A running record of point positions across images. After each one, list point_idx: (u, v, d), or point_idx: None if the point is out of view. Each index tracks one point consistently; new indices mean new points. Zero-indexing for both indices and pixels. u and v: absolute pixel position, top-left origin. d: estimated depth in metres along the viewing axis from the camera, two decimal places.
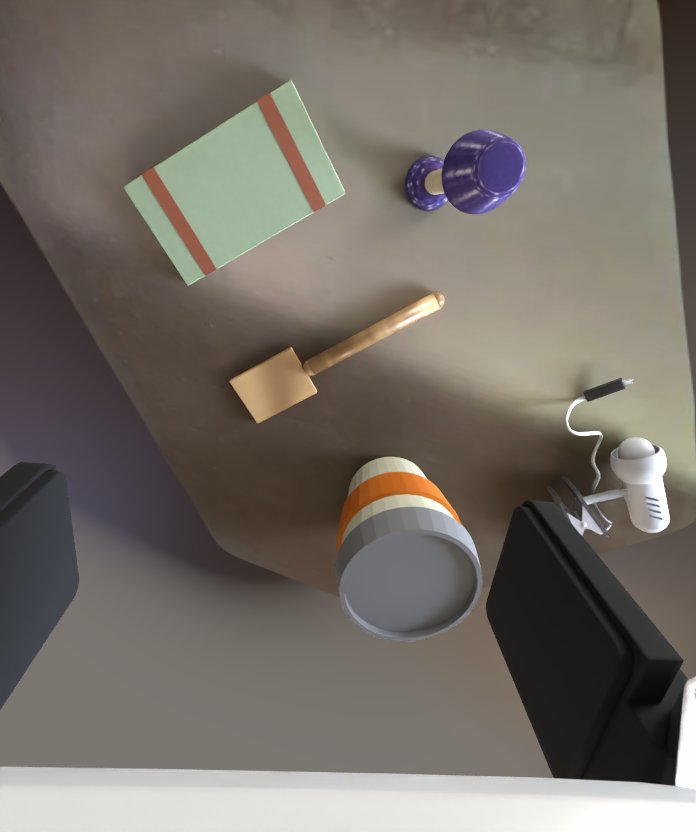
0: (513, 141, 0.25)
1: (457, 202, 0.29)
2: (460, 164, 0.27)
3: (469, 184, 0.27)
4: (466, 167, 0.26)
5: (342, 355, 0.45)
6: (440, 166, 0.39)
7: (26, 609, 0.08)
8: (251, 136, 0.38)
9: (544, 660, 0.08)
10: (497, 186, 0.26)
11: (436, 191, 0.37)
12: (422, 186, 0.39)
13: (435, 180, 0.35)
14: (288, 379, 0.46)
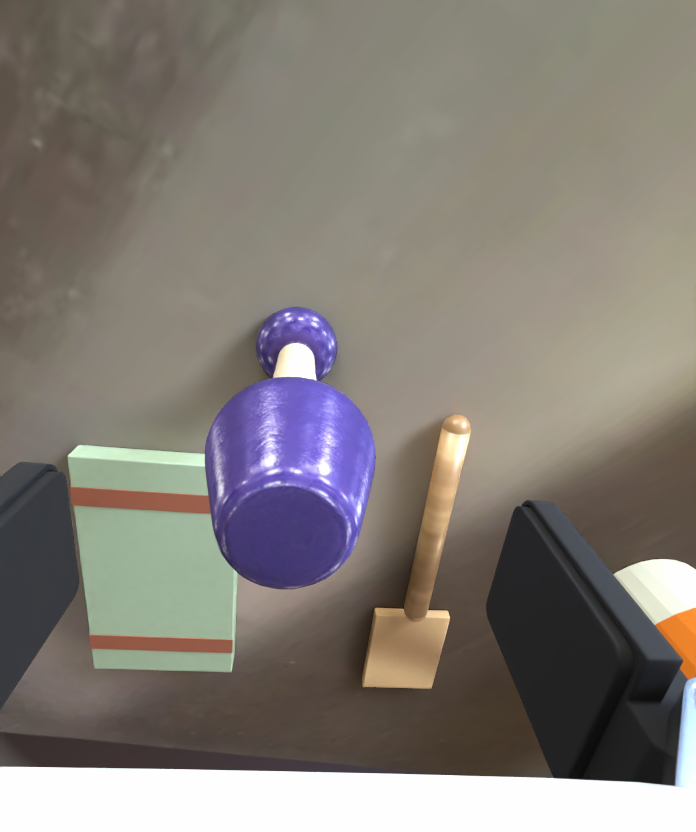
0: (246, 484, 0.09)
1: None
2: None
3: None
4: None
5: (430, 578, 0.30)
6: (280, 332, 0.23)
7: (26, 609, 0.08)
8: (109, 531, 0.27)
9: (544, 660, 0.08)
10: (321, 561, 0.10)
11: None
12: None
13: None
14: (408, 636, 0.33)
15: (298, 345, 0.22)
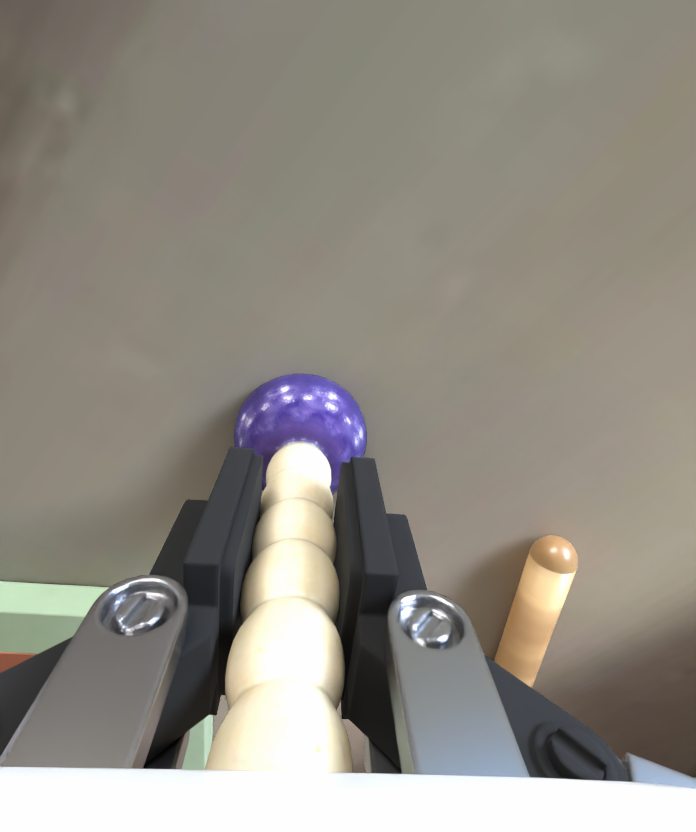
0: None
1: None
2: None
3: None
4: None
5: None
6: (273, 421, 0.13)
7: None
8: None
9: None
10: None
11: None
12: None
13: None
14: None
15: (303, 452, 0.12)
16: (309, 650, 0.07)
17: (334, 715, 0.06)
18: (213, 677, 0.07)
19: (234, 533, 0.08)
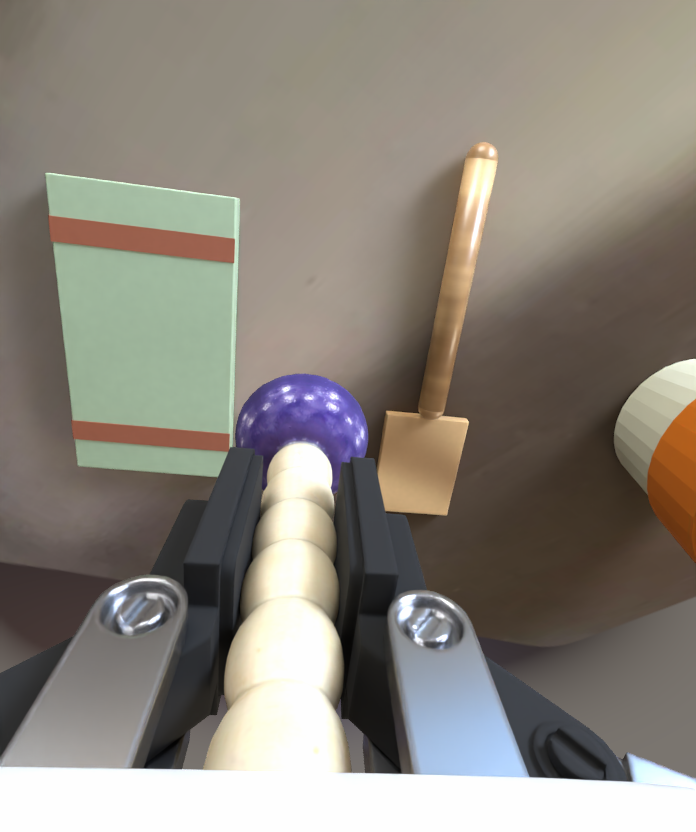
0: None
1: None
2: None
3: None
4: None
5: (448, 358, 0.27)
6: (274, 421, 0.13)
7: None
8: (92, 279, 0.24)
9: None
10: None
11: None
12: None
13: None
14: (423, 444, 0.30)
15: (304, 452, 0.12)
16: (308, 650, 0.07)
17: (332, 716, 0.06)
18: (214, 677, 0.07)
19: (234, 533, 0.08)
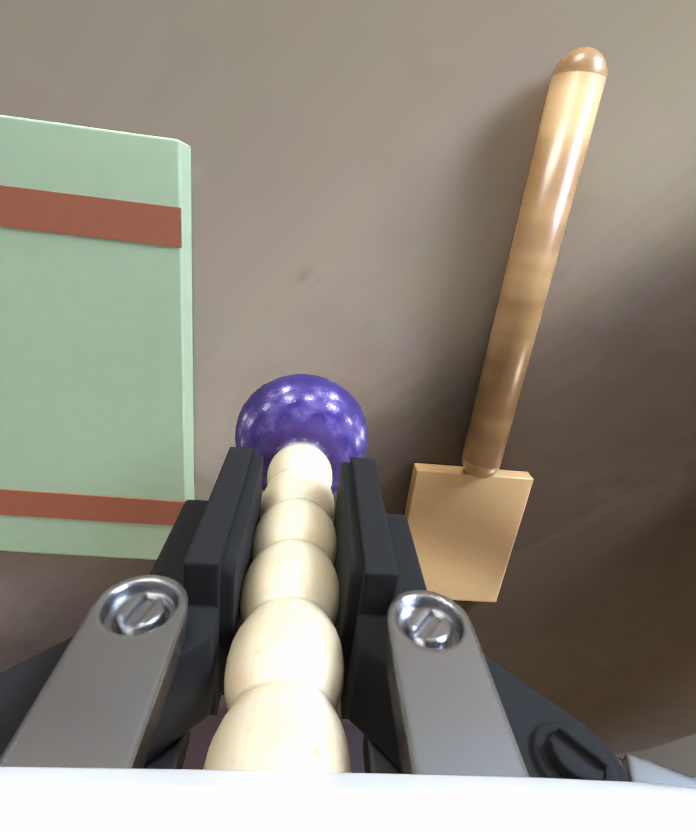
0: None
1: None
2: None
3: None
4: None
5: (512, 392, 0.18)
6: (274, 421, 0.13)
7: None
8: None
9: None
10: None
11: None
12: None
13: None
14: (466, 510, 0.21)
15: (304, 452, 0.12)
16: (308, 651, 0.07)
17: (333, 717, 0.06)
18: (214, 677, 0.07)
19: (234, 533, 0.08)
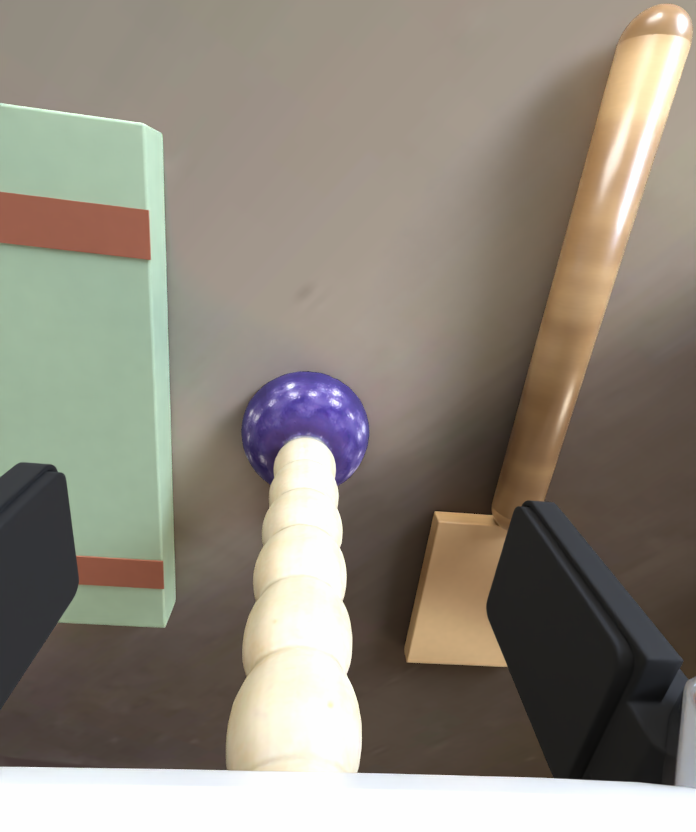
0: None
1: None
2: None
3: None
4: None
5: (557, 433, 0.15)
6: (279, 417, 0.14)
7: (26, 609, 0.08)
8: None
9: (544, 660, 0.08)
10: None
11: None
12: None
13: None
14: (496, 567, 0.18)
15: (309, 445, 0.13)
16: (320, 621, 0.07)
17: (344, 677, 0.07)
18: None
19: None
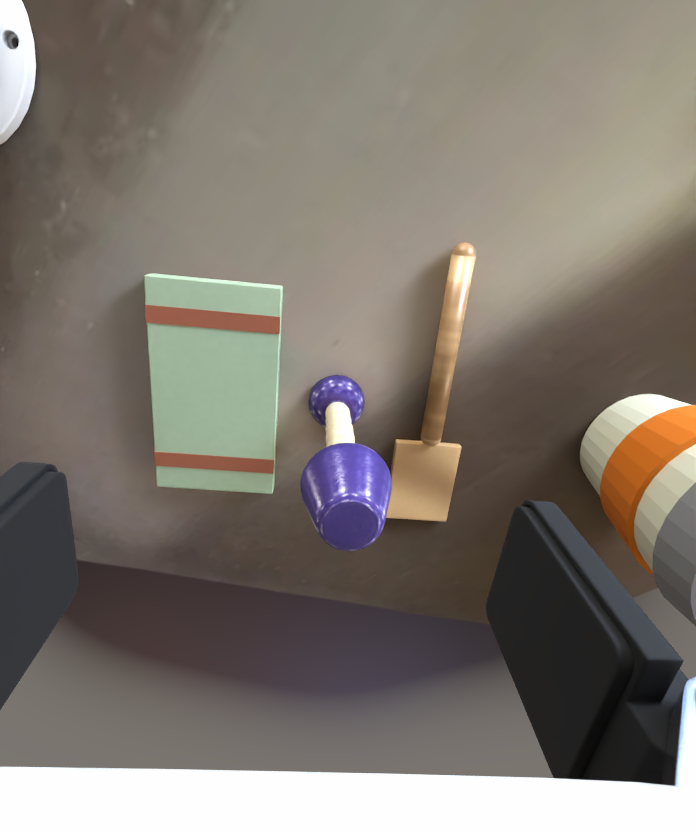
0: (332, 501, 0.20)
1: None
2: None
3: None
4: None
5: (443, 400, 0.35)
6: (326, 394, 0.34)
7: (26, 609, 0.08)
8: (174, 348, 0.33)
9: (544, 660, 0.08)
10: (366, 537, 0.21)
11: None
12: None
13: None
14: (425, 465, 0.38)
15: (339, 404, 0.33)
16: (347, 440, 0.27)
17: None
18: None
19: None
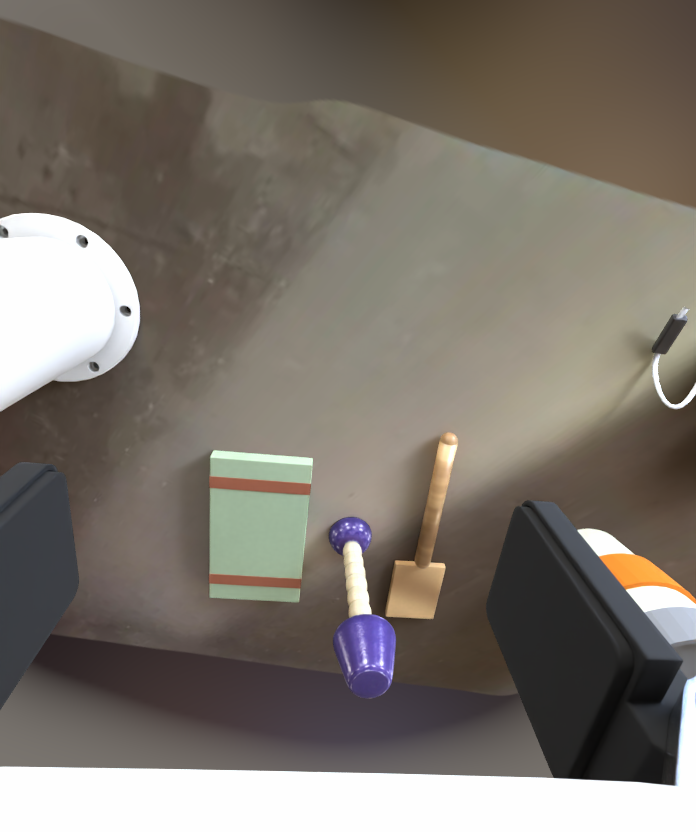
0: (359, 670, 0.31)
1: None
2: None
3: None
4: None
5: (432, 538, 0.46)
6: (343, 534, 0.45)
7: (26, 609, 0.08)
8: (230, 504, 0.43)
9: (544, 660, 0.08)
10: (380, 690, 0.32)
11: None
12: None
13: None
14: (417, 580, 0.49)
15: (354, 546, 0.44)
16: (363, 594, 0.38)
17: (368, 604, 0.37)
18: None
19: None
